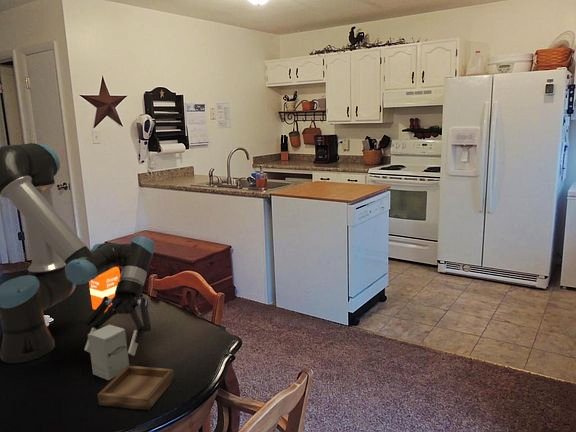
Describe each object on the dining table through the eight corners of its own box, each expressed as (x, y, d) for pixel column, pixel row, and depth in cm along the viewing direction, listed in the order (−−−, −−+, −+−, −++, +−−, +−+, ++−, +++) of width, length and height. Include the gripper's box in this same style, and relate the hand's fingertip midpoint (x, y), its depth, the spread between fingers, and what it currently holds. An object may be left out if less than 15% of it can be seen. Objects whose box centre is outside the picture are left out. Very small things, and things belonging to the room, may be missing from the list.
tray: (98, 405, 116) (97, 394, 116) (128, 375, 130) (127, 365, 129) (149, 410, 113) (147, 399, 113) (174, 379, 127) (173, 369, 126)
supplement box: (109, 381, 127) (103, 339, 124) (92, 374, 131) (86, 333, 128) (130, 368, 133) (125, 328, 130) (114, 362, 137) (109, 323, 134)
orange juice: (124, 304, 181) (118, 256, 176) (104, 312, 173) (98, 262, 169) (111, 301, 185) (105, 253, 181) (92, 308, 177) (85, 259, 173)
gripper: (173, 290, 141) (155, 359, 130) (100, 287, 146) (77, 353, 135) (163, 279, 135) (143, 351, 124) (88, 277, 140) (63, 346, 129)
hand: (109, 353), depth 130 cm, fingers open, 13 cm apart
